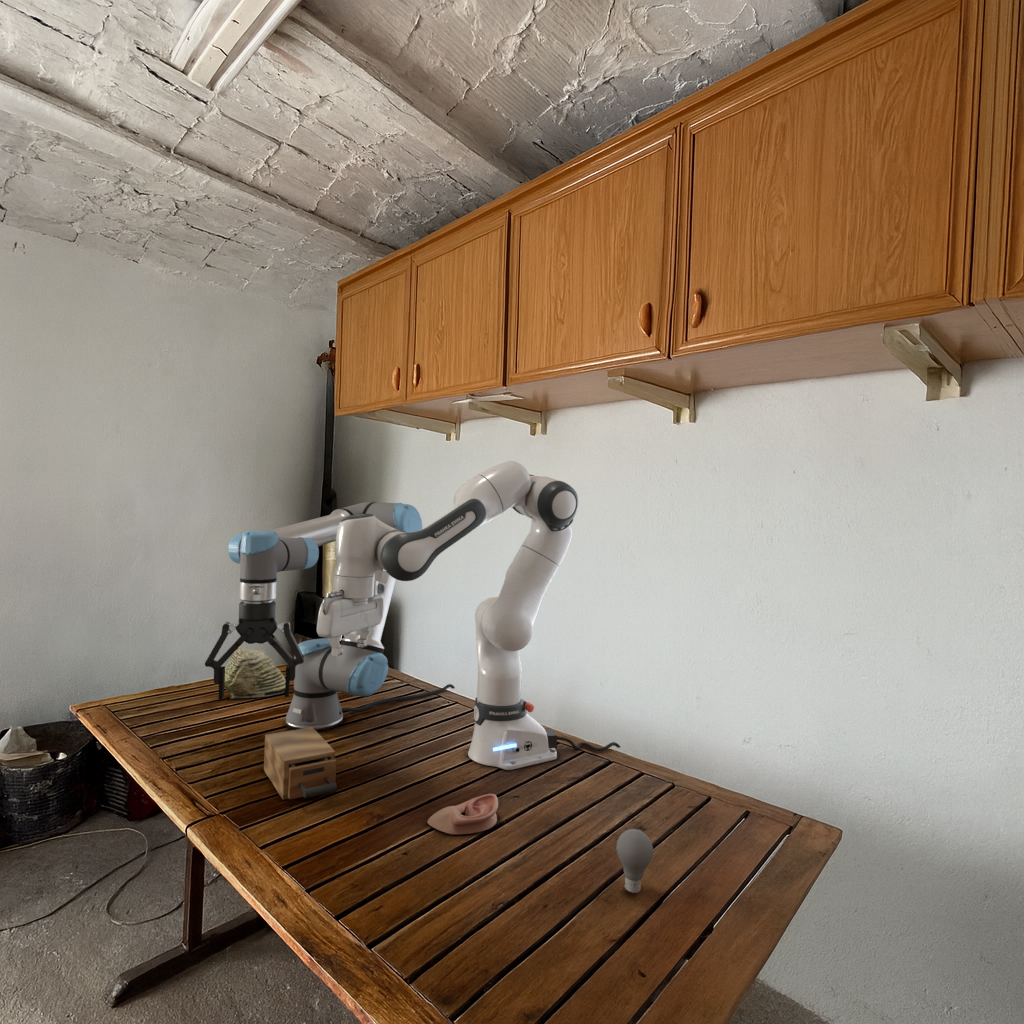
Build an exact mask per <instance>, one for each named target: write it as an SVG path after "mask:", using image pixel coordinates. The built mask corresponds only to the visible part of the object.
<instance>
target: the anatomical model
mask: <svg viewBox="0 0 1024 1024" xmlns="http://www.w3.org/2000/svg"><path fill="white" fill-rule="evenodd" d="M498 808H499V799H498V797H497V795H496V794H495V793H487V794H483V795H480V796H476V797H473V798H470V799H469V800H467V801H464V802H462V803H459V804H456V805H449V806H446V807H443V808H441V809H439V810H438V811H436V812H434V813H433V814H432V815H431V816H430V817H429V818H428V819H427V825H429V826H430V827H431V828H433V829H435V830H438V831H440V832H443V833H445V834H448V835H455V836H457V835H468V834H475V833H480V832H484V831H486V830H489V829H492V828H493V827H494V826H495V825H496V824H497V821H498V816H497V811H498Z"/></svg>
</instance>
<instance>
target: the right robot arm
mask: <svg viewBox="0 0 1024 1024" xmlns="http://www.w3.org/2000/svg"><path fill="white" fill-rule="evenodd" d="M578 508H579V496H578V493H577V491H576V490H575V488H573V487H572V486H571V485H570V484H568V483H567V482H565V481H562V480H557V479H555V478H553V477H550V476H541V475H535V474H530V473H529V472H528V470H527V468H526V467H525V466H524V465H522V464H521V463H519V462H518V461H514V460H508V461H506V462H501V463H500V464H497V465H494V466H491V467H490V468H488V469H485V470H484V471H481V472H480V473H478V474H477V475H475V476H473V477H471V478H470V479H468V480H467V481H466V482H464V483H463V484H462V485H461V486H459V488H458V489H457V490H456V491H455V493H454V496H453V506H452V508H451V509H450V510H449V511H448V512H447V513H445V514H444V515H442V516H440V517H439V518H438V519H436V520H434V521H433V522H432V523H430V524H429V525H427V526H425V527H424V528H422V530H420V531H417V532H411V533H405V532H402V531H400V530H397V529H395V528H393V527H390V526H389V525H387V524H385V523H383V522H382V521H380V520H379V519H377V518H376V517H375V515H372V514H357V515H351V516H347V517H345V518H343V519H342V520H341V521H340V523H339V526H338V530H337V535H336V541H335V544H334V557H335V566H334V567H335V568H334V570H333V578H332V591H330V592H328V593H327V594H326V596H325V597H324V598H322V602H321V604H320V606H319V610H318V615H317V622H316V633H317V635H318V637H319V638H329V643H330V645H331V647H332V652H331V654H332V656H340V655H342V653H343V652H342V651H343V647H341V646H340V645H341V641H342V636H343V635H348V634H349V633H351V632H354V631H357V630H360V631H361V634H360V637H359V639H357V647H361V648H363V647H366V646H367V640H368V637H369V635H370V633H371V627H372V626H374V625H378V624H380V623H381V621H382V618H383V612H384V596H383V594H384V593H385V592H386V585H385V584H383V583H381V582H379V581H377V580H375V572H376V571H377V570H384V571H385V572H387V573H388V574H389V575H390V576H392V577H393V578H395V579H396V581H399V582H400V581H401V582H411V581H415V580H417V579H419V578H420V577H422V576H423V575H424V574H425V573H426V572H427V571H428V569H429V568H430V567H431V565H432V564H433V563H434V561H435V559H437V557H438V556H439V555H440V554H442V553H443V552H444V551H446V550H447V549H448V548H450V547H451V546H453V545H454V544H456V543H457V542H458V541H460V540H461V539H462V538H465V537H466V536H467V535H468V534H470V533H472V532H473V531H474V530H476V529H478V528H480V527H481V526H484V525H486V524H488V523H489V522H491V521H493V520H495V519H496V518H498V517H500V516H501V515H503V514H504V513H506V512H508V510H510V509H513V510H514V511H515V512H516V513H517V514H519V515H522V516H525V517H526V518H529V519H531V525H530V529H529V531H528V534H527V536H526V537H525V538H524V540H523V542H522V543H521V545H520V547H519V549H518V550H517V552H516V554H515V555H514V557H513V559H512V561H511V563H510V564H509V566H508V568H507V570H506V571H505V577H504V580H503V584H502V587H501V589H500V591H499V594H498V596H493V597H492V596H491V597H489V598H486V599H484V600H482V601H481V602H479V604H478V605H477V606H476V609H475V612H474V620H475V621H474V623H475V642H476V655H477V657H476V658H477V684H476V685H477V689H476V697H475V699H474V707H473V720H474V725H473V726H474V728H473V733H472V737H471V742H470V745H469V749H468V752H467V756H468V757H469V759H470V760H472V761H473V762H475V763H477V764H481V765H484V766H490V767H495V768H499V769H503V770H505V771H513V770H516V769H521V768H525V767H529V766H534V765H538V764H542V763H547V762H550V761H554V760H555V761H556V760H558V759H557V758H558V752H557V748H558V741H562V742H563V741H564V742H567V743H569V744H570V746H571V747H572V748H573V749H575V750H580V748H581V747H583V746H584V747H586V748H588V749H590V750H592V751H594V752H604V751H607V750H608V749H610V748H612V747H613V746H615V747H616V749H617V748H618V749H619V748H621V745H620V744H619V743H618V742H616V741H612V742H610V743H608V744H606V745H605V746H603V747H595V746H593V745H592V744H590V743H588V742H586V741H585V742H582V741H581V742H578V744H577V745H576V744H575V742H574V741H573V740H572V739H570V738H568V737H564V736H558V734H557V733H556V732H555V731H554V730H553V729H552V728H551V727H550V728H548V727H547V728H544V727H543V725H542V724H541V723H540V722H538V721H537V720H536V719H534V717H532V716H531V715H530V714H528V713H533V712H534V710H535V706H534V704H532V703H531V702H527V700H525V699H523V698H522V679H523V678H522V677H523V668H522V663H521V658H520V650H522V649H525V647H527V645H529V643H530V641H532V637H533V631H534V628H533V627H534V625H535V621H536V618H537V615H538V612H539V610H540V607H541V603H542V600H543V598H544V595H545V593H546V591H547V589H548V588H549V586H550V584H551V582H552V581H553V579H554V578H555V577H554V576H555V575H556V573H557V571H558V569H559V568H560V566H561V564H562V562H563V560H564V558H565V556H566V554H567V552H568V549H569V546H570V544H571V541H572V537H573V530H572V527H571V524H572V523H573V522H574V518H575V516H576V514H577V511H578ZM527 712H528V713H527Z"/></svg>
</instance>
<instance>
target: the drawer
mask: <svg viewBox="0 0 1024 1024" xmlns="http://www.w3.org/2000/svg"><path fill="white" fill-rule="evenodd" d="M336 778H337V760H336V758H335V759H331V760H328V758H327V757H326V758H321V759H315V760H310V761H305V762H300V763H295V764H290V765H289V777H288V798H289V799H288V800H289V801H290V800H294V799H298V798H304V799H307V798H310V797H312V798H313V797H316V796H319V795H324V794H329V793H333V792H336V791H337V790H338V789H337V788H338V786H337V783H336V781H337V780H336Z"/></svg>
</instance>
